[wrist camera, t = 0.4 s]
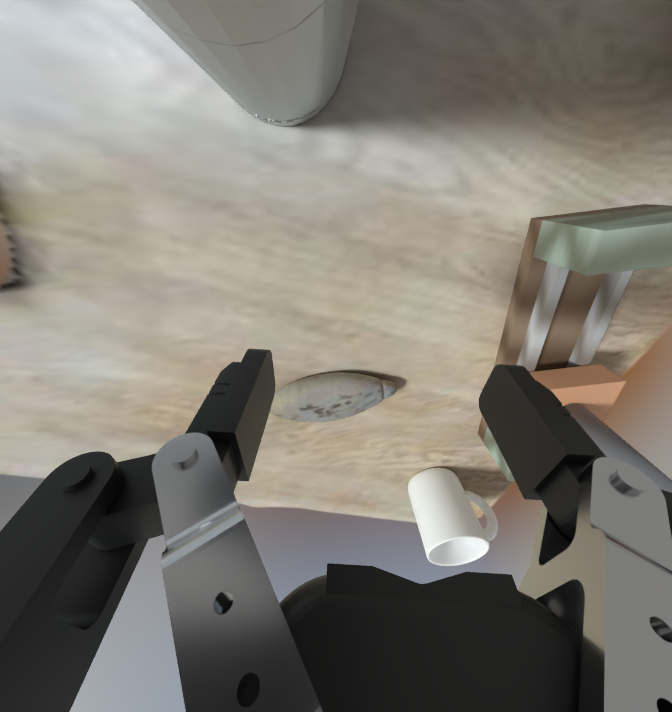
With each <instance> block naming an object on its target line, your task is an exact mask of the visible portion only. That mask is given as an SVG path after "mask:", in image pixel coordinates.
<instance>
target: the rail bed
mask: <svg viewBox="0 0 672 712" xmlns="http://www.w3.org/2000/svg"><path fill="white" fill-rule="evenodd" d="M665 266H672V206H661V205H646V204H643V205H635V206H627V207H619V208H611V209H603V210H595V211H587V212H579V213H571V214H562V215H554V216H546V217H538V218H531V221H530V225H529V230H528V234H527V238H526V242H525V246H524V250H523V254H522V258H521V262H520V266H519V270H518V274H517V278H516V282H515V286H514V290H513V294H512V298H511V302H510V306H509V310H508V314H507V318H506V322H505V326H504V330H503V335H502V339H501V343H500V347H499V351H498V355H497V359H496V363H495V366H496V365H498V364H506V365H521V366H524V367H525V368H526V369H527V370H528V372H536V371H544V370H553V369H562V368H570V367H579V366H588V365H590V363H591V360H592V358H593V356H594V354H595V352H596V350H597V348H598V346H599V343H600V341H601V339H602V337H603V335H604V333H605V331H606V329H607V327H608V324H609V322H610V320H611V318H612V316H613V314H614V312H615V310H616V307H617V305H618V303H619V301H620V299H621V297H622V295H623V293H624V290H625V288H626V286H627V284H628V282H629V280H630V278H631V276H632V274H633V271H634V270H640V269H648V268H657V267H665ZM478 434H479V436H480V438H481V439H482V441H483V442H484V444H485V446H486V447H487V449H488V450H489V452H490V453H491V455H492V457H493V458H494V460H495V461H496V463H497V465H498V466H499V468H500V469H501V471H502V472H503V474H504V476H505V477H506V479H507V480H508V481H515V479H514V477H513V475H512V473H511V471H510V469H509V467H508V465H507V463H506V461H505V459H504V457H503V455H502V453H501V451H500V449H499V447H498V445H497V443H496V441H495V439H494V437H493V435H492V433H491V431H490V429H489V427H488V425H487V423H486V421H485V419H484V417H483V415H482V419H481V423H480V427H479V431H478Z"/></svg>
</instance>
